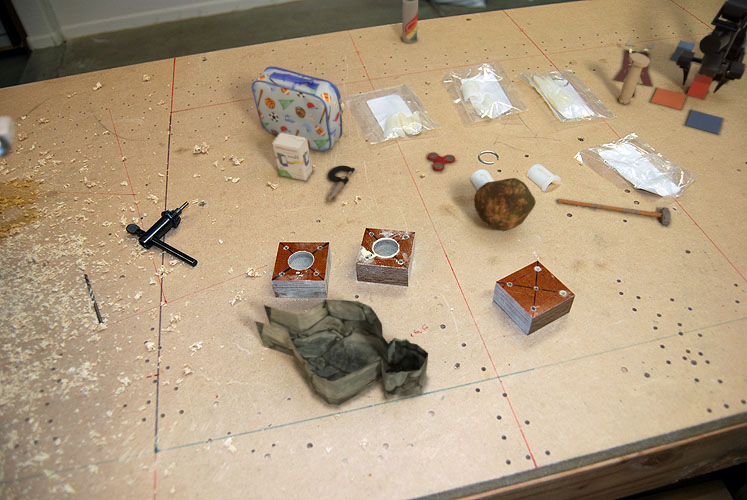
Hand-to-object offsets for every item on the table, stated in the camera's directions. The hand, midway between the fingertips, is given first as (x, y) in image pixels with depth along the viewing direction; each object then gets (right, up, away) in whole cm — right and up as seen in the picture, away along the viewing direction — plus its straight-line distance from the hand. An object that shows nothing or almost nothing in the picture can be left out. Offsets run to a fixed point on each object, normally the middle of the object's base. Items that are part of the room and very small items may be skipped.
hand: (698, 88), depth 170 cm
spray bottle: (-92, +28, +31) cm, 101 cm away
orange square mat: (-10, -4, -1) cm, 11 cm away
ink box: (-128, -31, -20) cm, 134 cm away
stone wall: (-113, -76, -61) cm, 149 cm away
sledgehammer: (-44, -42, -34) cm, 69 cm away
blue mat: (-4, -13, -9) cm, 17 cm away
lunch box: (-127, -18, -9) cm, 129 cm away
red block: (0, -1, +1) cm, 2 cm away
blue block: (+4, +16, +16) cm, 23 cm away
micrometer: (-117, -34, -24) cm, 124 cm away
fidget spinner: (-86, -27, -18) cm, 92 cm away
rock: (-73, -46, -36) cm, 94 cm away
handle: (-25, -5, -1) cm, 25 cm away
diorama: (-15, +10, +12) cm, 22 cm away
